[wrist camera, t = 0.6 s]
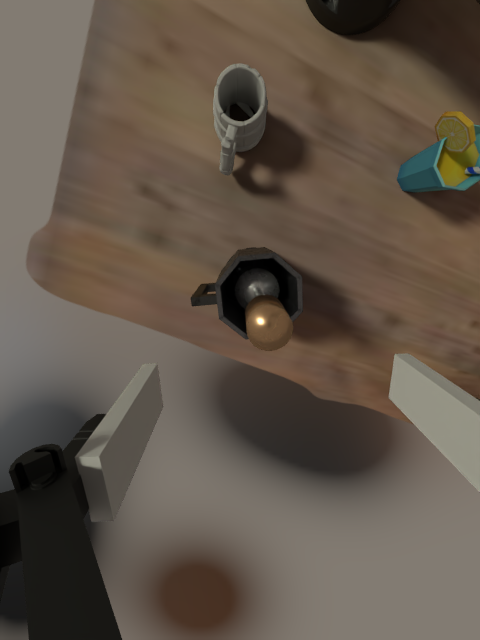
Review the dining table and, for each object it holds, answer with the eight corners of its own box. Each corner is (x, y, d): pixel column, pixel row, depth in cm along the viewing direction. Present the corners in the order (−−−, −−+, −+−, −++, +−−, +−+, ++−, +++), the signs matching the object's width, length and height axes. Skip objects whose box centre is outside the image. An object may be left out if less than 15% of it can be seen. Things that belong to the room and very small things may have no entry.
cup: (465, 179, 44) (573, 154, 30) (432, 223, 46) (519, 218, 32) (400, 128, 42) (484, 74, 28) (368, 176, 44) (431, 149, 30)
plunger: (277, 265, 39) (306, 289, 22) (279, 308, 41) (307, 359, 24) (233, 270, 39) (229, 296, 22) (237, 312, 41) (236, 366, 24)
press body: (282, 244, 47) (302, 249, 33) (285, 306, 51) (304, 334, 36) (199, 252, 48) (182, 260, 33) (207, 313, 51) (195, 344, 37)
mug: (271, 106, 41) (284, 57, 30) (248, 188, 45) (251, 172, 33) (223, 88, 40) (217, 31, 29) (203, 173, 44) (190, 151, 32)
